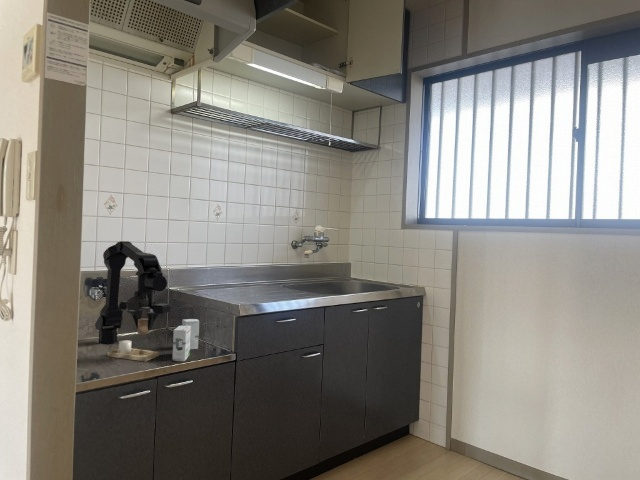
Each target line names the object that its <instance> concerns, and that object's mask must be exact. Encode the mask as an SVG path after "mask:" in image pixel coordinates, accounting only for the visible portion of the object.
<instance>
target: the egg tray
mask: <svg viewBox="0 0 640 480" xmlns="http://www.w3.org/2000/svg"><path fill="white" fill-rule="evenodd" d="M107 357H112V358H118V359H125V360H133V361H139V362H140V361H141V362H148V361H150V360H152V359H155V358H158V357H160V351H153V350H147V349H139V348H132V347H131V353H129V354H121V353H119V348H116V349H114V350H111V351H108V352H107Z"/></svg>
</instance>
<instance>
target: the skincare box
mask: <svg viewBox="0 0 640 480" xmlns="http://www.w3.org/2000/svg"><path fill="white" fill-rule="evenodd" d="M181 322H182V323H181V326H191V334H190V350H195V349H196V350H198V349H199V334H200V320H199V319H196V318H187V319H185V318H183V319H182V321H181Z"/></svg>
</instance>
